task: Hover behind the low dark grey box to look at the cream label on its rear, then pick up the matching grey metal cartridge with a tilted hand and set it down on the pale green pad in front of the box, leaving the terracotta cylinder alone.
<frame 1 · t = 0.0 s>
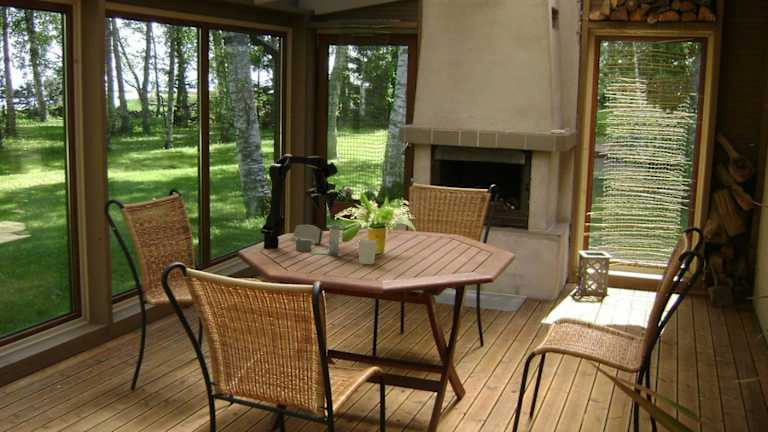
hand: (324, 209, 418), 15 cm above the table, tool pointing down, fingers open, 9 cm apart
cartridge: (333, 255, 383), on the table
unit: (303, 249, 393), on the table
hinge: (307, 243, 412), on the table
white cup: (366, 263, 371), on the table
pad: (319, 252, 388), on the table
terracotta cylinder: (333, 249, 396), on the table
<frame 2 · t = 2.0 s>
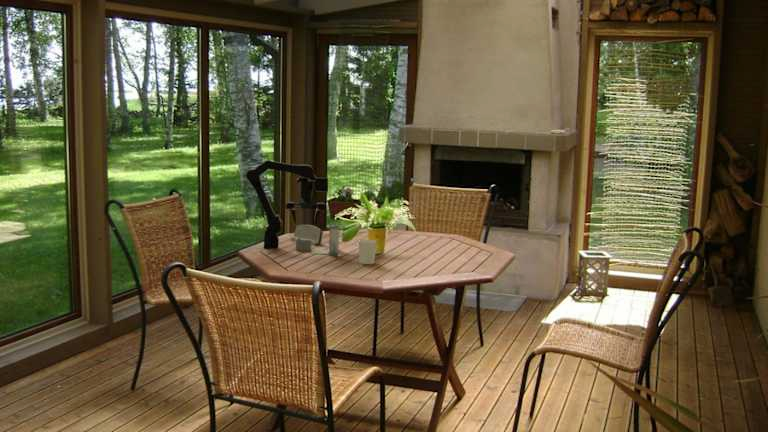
hand: (305, 223, 395), 12 cm above the table, tool pointing down, fingers open, 9 cm apart
nothing on the table moved.
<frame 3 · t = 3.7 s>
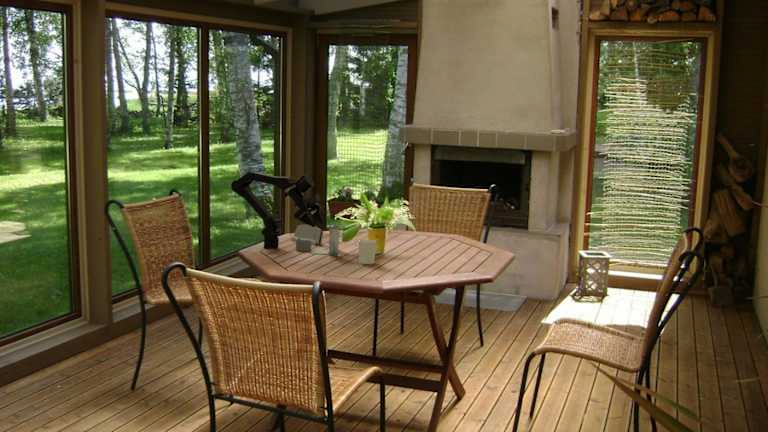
hand: (318, 225, 384), 13 cm above the table, tool tilted 45°, fingers open, 9 cm apart
nothing on the table moved.
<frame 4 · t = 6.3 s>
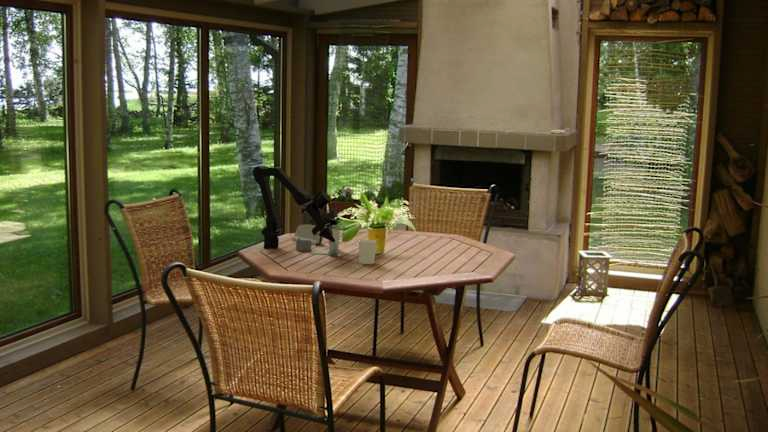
hand: (336, 240, 381), 7 cm above the table, tool tilted 45°, fingers closed on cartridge, 4 cm apart
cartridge: (333, 255, 383), on the table, touching gripper
everything else where it was.
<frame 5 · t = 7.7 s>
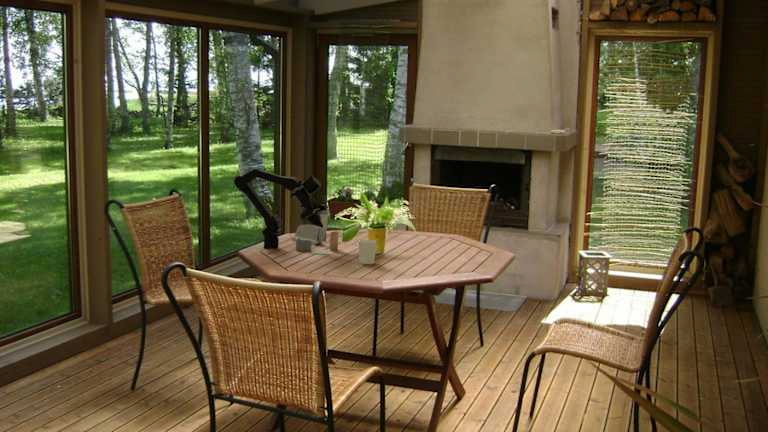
hand: (324, 226, 385), 13 cm above the table, tool tilted 45°, fingers closed on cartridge, 4 cm apart
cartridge: (321, 240, 387), point 6 cm above the table, touching gripper
everything else where it was.
when the fingers open (8 cm above the table, at t = 9.1 s): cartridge stays where it is, resting on pad.
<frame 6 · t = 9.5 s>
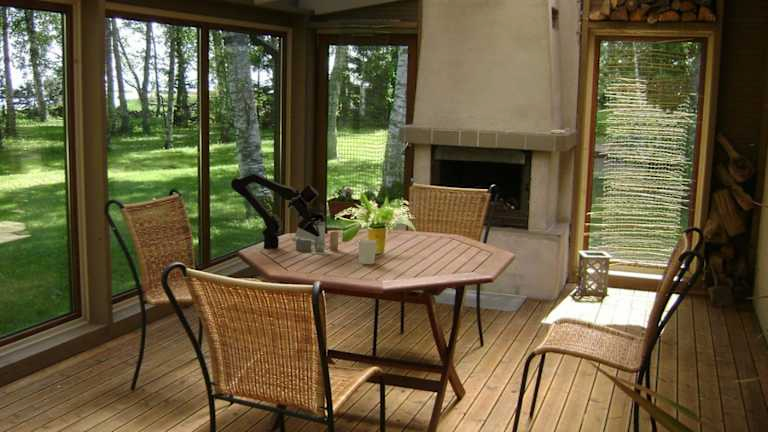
hand: (323, 234, 387), 9 cm above the table, tool tilted 45°, fingers open, 9 cm apart
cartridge: (319, 251, 388), resting on pad
everything else where it was.
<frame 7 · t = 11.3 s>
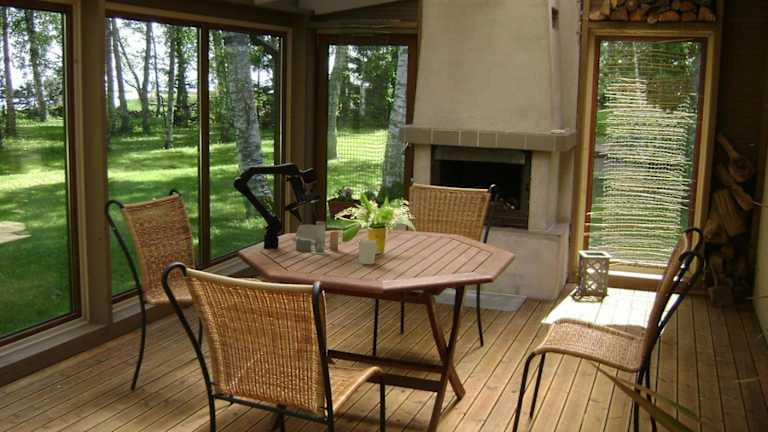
hand: (309, 219, 394), 14 cm above the table, tool tilted 25°, fingers open, 9 cm apart
nothing on the table moved.
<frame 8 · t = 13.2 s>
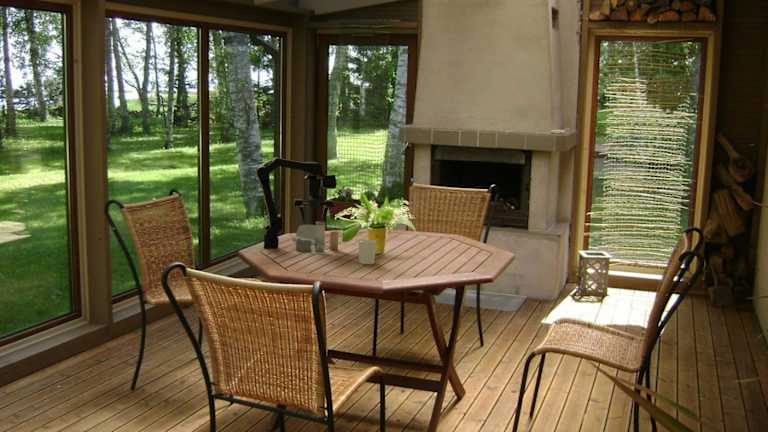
hand: (313, 220, 398), 13 cm above the table, tool pointing down, fingers open, 9 cm apart
nothing on the table moved.
at the end: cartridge inside the target area on the pad (0.1 cm from its centre), point 0.4 cm above the pad's base; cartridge tilted 1°; the gripper is holding nothing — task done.
